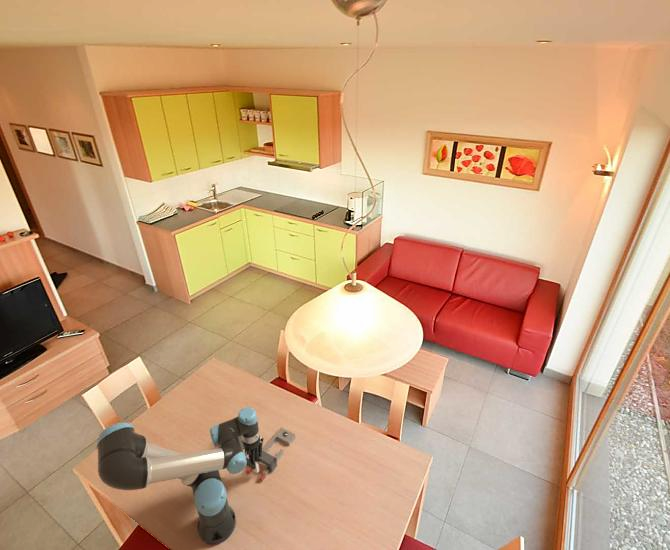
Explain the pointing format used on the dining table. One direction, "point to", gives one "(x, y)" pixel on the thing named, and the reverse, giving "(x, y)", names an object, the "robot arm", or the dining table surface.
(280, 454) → the red-tipped stick
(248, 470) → the base
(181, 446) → the dining table surface
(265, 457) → the grey rectangular block
